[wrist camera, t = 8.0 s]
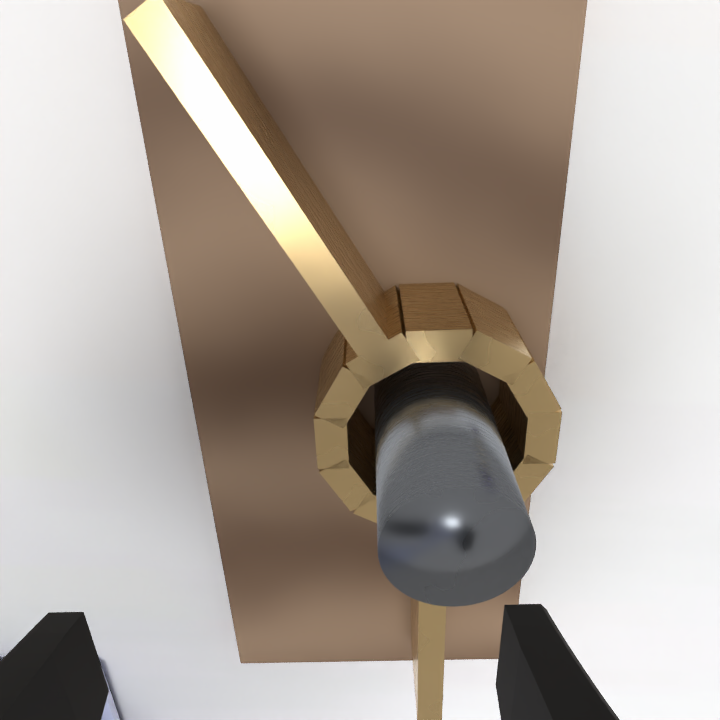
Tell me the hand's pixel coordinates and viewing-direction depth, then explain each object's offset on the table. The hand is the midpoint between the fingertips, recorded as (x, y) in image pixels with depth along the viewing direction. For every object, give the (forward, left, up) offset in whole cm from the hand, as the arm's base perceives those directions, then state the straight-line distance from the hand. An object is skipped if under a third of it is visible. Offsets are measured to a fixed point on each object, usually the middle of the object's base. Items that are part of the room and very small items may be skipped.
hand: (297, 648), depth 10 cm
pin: (+1, -3, -9) cm, 9 cm away
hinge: (0, -2, -8) cm, 9 cm away
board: (0, -1, -9) cm, 10 cm away
